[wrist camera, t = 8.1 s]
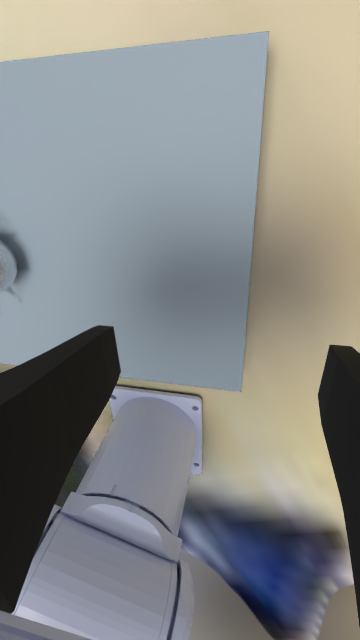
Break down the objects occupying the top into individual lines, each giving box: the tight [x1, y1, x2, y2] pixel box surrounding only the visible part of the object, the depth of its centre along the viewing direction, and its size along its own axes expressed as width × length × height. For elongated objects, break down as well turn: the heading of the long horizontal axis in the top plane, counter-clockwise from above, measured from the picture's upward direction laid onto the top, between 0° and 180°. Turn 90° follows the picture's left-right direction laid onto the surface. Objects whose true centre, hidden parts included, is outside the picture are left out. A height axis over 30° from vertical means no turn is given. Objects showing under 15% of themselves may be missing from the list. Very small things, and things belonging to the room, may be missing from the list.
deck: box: [0, 31, 269, 392], centre depth 20 cm, size 26×18×2 cm
